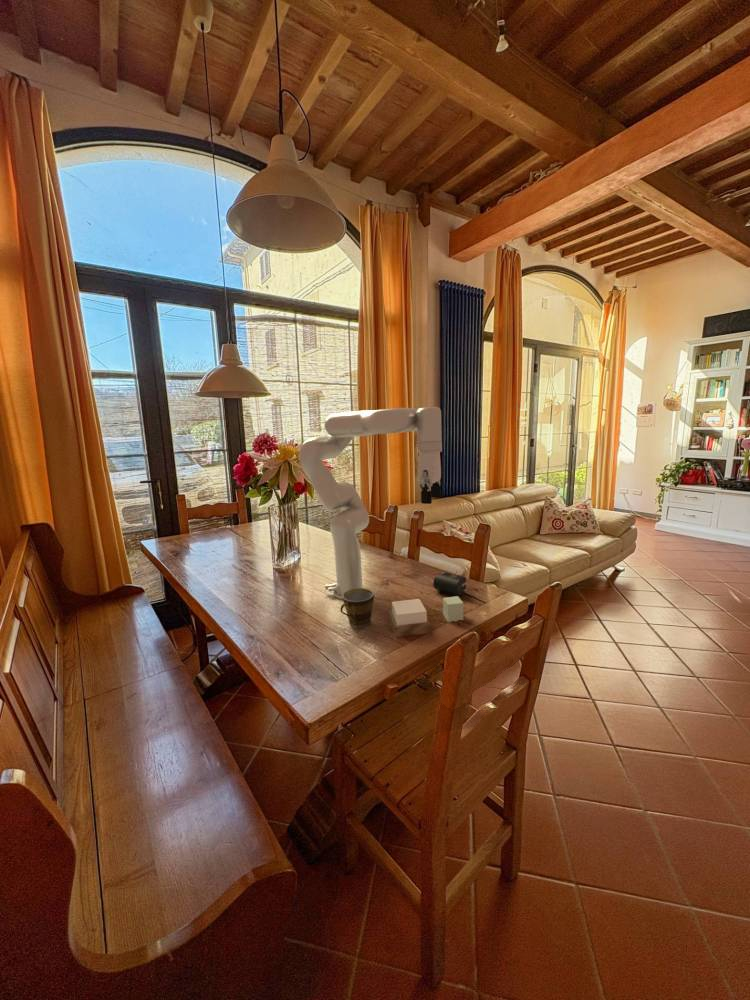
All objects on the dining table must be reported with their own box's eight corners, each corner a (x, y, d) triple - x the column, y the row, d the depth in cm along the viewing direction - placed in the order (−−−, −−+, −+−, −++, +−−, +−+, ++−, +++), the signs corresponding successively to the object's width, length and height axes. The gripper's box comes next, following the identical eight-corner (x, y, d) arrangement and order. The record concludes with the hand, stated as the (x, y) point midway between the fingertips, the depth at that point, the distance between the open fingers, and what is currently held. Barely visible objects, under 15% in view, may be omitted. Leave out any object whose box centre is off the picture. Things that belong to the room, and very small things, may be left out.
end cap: (433, 593, 149) (432, 575, 148) (443, 586, 154) (443, 570, 153) (457, 600, 142) (456, 582, 141) (467, 593, 148) (467, 575, 146)
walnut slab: (395, 638, 120) (394, 627, 120) (388, 620, 131) (388, 610, 130) (431, 634, 122) (430, 623, 121) (421, 617, 132) (421, 607, 132)
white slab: (397, 625, 121) (397, 614, 120) (392, 612, 129) (391, 601, 129) (426, 622, 122) (426, 611, 121) (419, 608, 131) (419, 598, 130)
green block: (448, 622, 127) (447, 604, 126) (443, 614, 132) (443, 597, 131) (463, 620, 128) (463, 602, 127) (458, 613, 133) (457, 596, 132)
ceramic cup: (358, 613, 136) (356, 585, 134) (381, 621, 130) (380, 592, 128) (331, 629, 126) (328, 600, 124) (354, 639, 120) (352, 608, 118)
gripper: (427, 445, 137) (428, 495, 140) (408, 449, 121) (411, 505, 125) (448, 444, 133) (449, 495, 137) (433, 449, 118) (434, 506, 121)
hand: (431, 500), depth 131 cm, fingers open, 9 cm apart
